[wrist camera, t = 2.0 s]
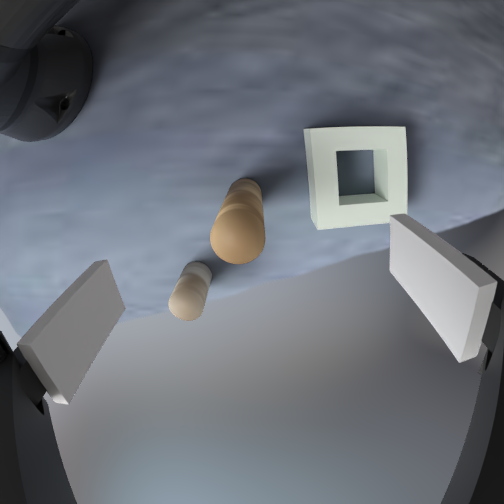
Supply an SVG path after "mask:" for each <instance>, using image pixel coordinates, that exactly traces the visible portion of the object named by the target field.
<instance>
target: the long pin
mask: <svg viewBox="0 0 504 504" xmlns="http://www.w3.org/2000/svg"><path fill="white" fill-rule="evenodd" d="M210 241H211V246H212V248H213V250H214V252H215V253H216V254H217V255H218V256H219V257H220V258H221V259H223V260H224V261H226V262H229V263H232V264H244V263H248V262H250V261H252V260H254V259H255V258H257V257H258V256H259V255H260V253H261V252H262V250H263V248H264V245H265V228H264V216H263V205H262V193H261V189H260V187H259V185H258V184H257V183H256V182H255V181H253V180H251V179H247V178H243V179H239V180H237V181H235V182H234V183H233V184H232V185H231V186H230V188H229V191H228V193H227V195H226V198H225V200H224V202H223V204H222V207H221V209H220V211H219V214H218V216H217V218H216V220H215V223H214V225H213V227H212V230H211V234H210Z"/></svg>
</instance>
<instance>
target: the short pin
mask: <svg viewBox="0 0 504 504" xmlns="http://www.w3.org/2000/svg"><path fill="white" fill-rule="evenodd" d="M211 279H212V273H211V271H210V269H209V267H208V266H206V265H205V264H203V263H201V262H191V263H189V264H187V265H186V266H185V268H184V269H183V272H182V274H181V276H180V278H179V280H178V282H177V284H176V286H175V288H174V291H173V293H172V295H171V297H170V299H169V308H170V311H171V312H172V313H173V314H174V315H175V316H176V317H177V318H179V319H181V320H186V321H191V320H195V319H197V318H198V317H200V316H201V314H202V312H203V308H204V305H205V301H206V297H207V294H208V290H209V286H210V283H211Z"/></svg>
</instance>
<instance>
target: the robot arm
mask: <svg viewBox="0 0 504 504" xmlns="http://www.w3.org/2000/svg"><path fill="white" fill-rule="evenodd" d="M79 1H80V0H0V133H1V134H4V135H7V136H10V137H12V138H15V139H18V140H21V141H27V142H33V141H40V140H45V139H49V138H51V137H54V136H55V135H57V134H59V133H60V132H62V131H63V130H64V129H65V128H66V127H67V126H68V125H69V124H70V123H71V122H72V121H73V120H74V118H75V117H76V116H77V114H78V113H79V111H80V109H81V108H82V106H83V104H84V102H85V99H86V97H87V94H88V91H89V88H90V84H91V80H92V72H93V62H92V55H91V51H90V48H89V46H88V44H87V42H86V41H85V39H84V38H83V37H82V36H81V35H80V34H78V33H76V32H75V31H72V30H70V29H67V28H64V27H59V26H54V25H55V24H56V23H57V22H58V21H59V20H60V19H61V18H62V17H63V16H64V15H65V14H66V13H67V12H68V11H69V10H70V9H71V8H72V7H73V6H74V5H75V4H77V3H78V2H79ZM390 272H391V273H392V274H393V276H394V277H395V278H396V279H397V280H398V282H399V283H400V284H401V285H402V287H403V288H404V289H405V290H406V292H407V293H408V294H409V295H410V296H411V298H412V299H413V300H414V302H415V303H416V304H417V306H418V307H419V308H420V309H421V311H422V312H423V313H424V315H425V316H426V317H427V319H428V320H429V321H430V323H431V324H432V325H433V327H434V328H435V329H436V331H437V332H438V333H439V334H440V336H441V337H442V339H443V340H444V341H445V343H446V344H447V346H448V347H449V349H450V350H451V352H452V353H453V354H454V356H455V357H456V359H457V360H458V362H459V363H460V362H462V361H465V360H468V359H470V358H473V357H476V356H477V354H478V351H479V348H480V345H481V342H483V343H484V344H485V345H486V347H487V348H488V349H487V352H486V354H485V357H484V360H483V363H482V365H481V368H480V370H479V374H481V373H482V375H481V381H480V386H479V390H478V395H477V399H476V404H475V408H474V412H473V415H472V419H471V423H470V426H469V430H468V433H467V437H466V440H465V443H464V446H463V449H462V452H461V455H460V458H459V461H458V463H457V466H456V469H455V471H454V474H453V476H452V479H451V481H450V484H449V486H448V489H447V491H446V493H445V495H444V498H443V500H442V502H441V504H504V281H503V280H502V279H501V278H499V277H498V276H497V275H496V274H494V273H493V272H492V271H490V270H488V268H487V267H485V266H484V265H482V263H480V262H479V261H478V260H476V259H475V258H474V257H471V256H469V255H466V254H464V253H461V252H459V251H458V250H457V249H455V248H454V247H453V246H451V245H450V244H448V243H447V242H446V241H444V240H443V239H441V238H440V237H439V236H437V235H436V234H434V233H433V232H432V231H430V230H429V229H427V228H426V227H424V226H423V225H421V224H420V223H418V222H417V221H416V220H414V219H413V218H411V217H409V216H408V215H406V214H405V213H403V214H396V215H390ZM125 309H126V308H125V306H124V303H123V301H122V298H121V296H120V293H119V291H118V288H117V285H116V283H115V280H114V277H113V274H112V272H111V269H110V266H109V263H108V260H102V261H96V262H94V263H93V264H92V265H91V266H90V267H89V268H88V269H87V270H86V271H85V272H84V273H83V274H82V275H81V276H80V277H79V278H78V279H77V280H76V281H75V282H74V283H73V284H72V285H71V286H70V287H69V288H68V289H67V290H66V291H65V292H64V293H63V294H62V295H61V296H60V297H59V298H58V299H57V300H56V301H55V302H54V303H53V304H52V305H51V306H50V307H49V308H48V309H47V311H46V312H45V313H44V314H43V315H42V316H41V317H40V318H39V319H38V320H37V321H36V323H35V324H34V325H33V326H32V327H31V328H30V329H29V330H28V331H27V333H26V334H25V335H24V336H23V337H22V338H21V340H20V341H19V342H18V343H17V346H18V347H17V348H16V349H15V350H14V351H12V349H11V347H10V346H9V344H8V342H7V341H6V339H5V337H4V335H3V334H2V331H0V504H77V502H76V500H75V497H74V495H73V492H72V489H71V486H70V484H69V481H68V478H67V475H66V472H65V469H64V466H63V462H62V459H61V456H60V453H59V449H58V445H57V442H56V438H55V434H54V430H53V426H52V422H51V417H50V413H49V407H48V404H47V402H46V400H45V399H44V398H43V396H44V394H45V393H46V391H47V392H48V394H49V395H50V396H51V398H52V399H53V400H54V402H56V403H62V404H69V403H70V402H71V400H72V398H73V396H74V394H75V393H76V391H77V389H78V387H79V385H80V384H81V382H82V380H83V378H84V377H85V374H86V373H87V371H88V370H89V368H90V366H91V364H92V363H93V361H94V359H95V357H96V356H97V354H98V352H99V351H100V349H101V347H102V346H103V344H104V342H105V341H106V339H107V337H108V336H109V334H110V333H111V331H112V329H113V328H114V326H115V325H116V323H117V321H118V320H119V318H120V317H121V315H122V313H123V312H124V310H125Z"/></svg>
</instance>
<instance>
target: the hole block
mask: <svg viewBox="0 0 504 504" xmlns="http://www.w3.org/2000/svg"><path fill="white" fill-rule="evenodd" d="M304 139H305V149H306V159H307V170H308V182H309V195H310V208H311V219H312V221H313V222H314V224H315V226H316V228H317V229H318V230H321V229H331V228H341V227H351V226H361V225H371V224H382V223H390V215H396V214H403V213H405V214H406V215H407V146H406V129H405V127H396V126H354V127H326V128H309V129H304ZM348 150H373V158H374V183H375V193H372V194H358V195H345V196H339V192H338V174H337V160H336V151H348Z"/></svg>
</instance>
